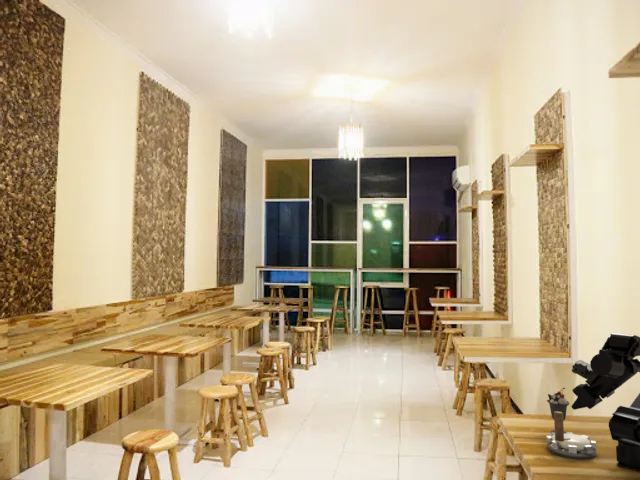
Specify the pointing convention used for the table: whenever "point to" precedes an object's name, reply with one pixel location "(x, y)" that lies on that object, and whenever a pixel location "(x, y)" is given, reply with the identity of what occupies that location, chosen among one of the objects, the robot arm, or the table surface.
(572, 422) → the table surface
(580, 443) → the dial
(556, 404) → the sundae
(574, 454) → the dial plate
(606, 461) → the table surface
